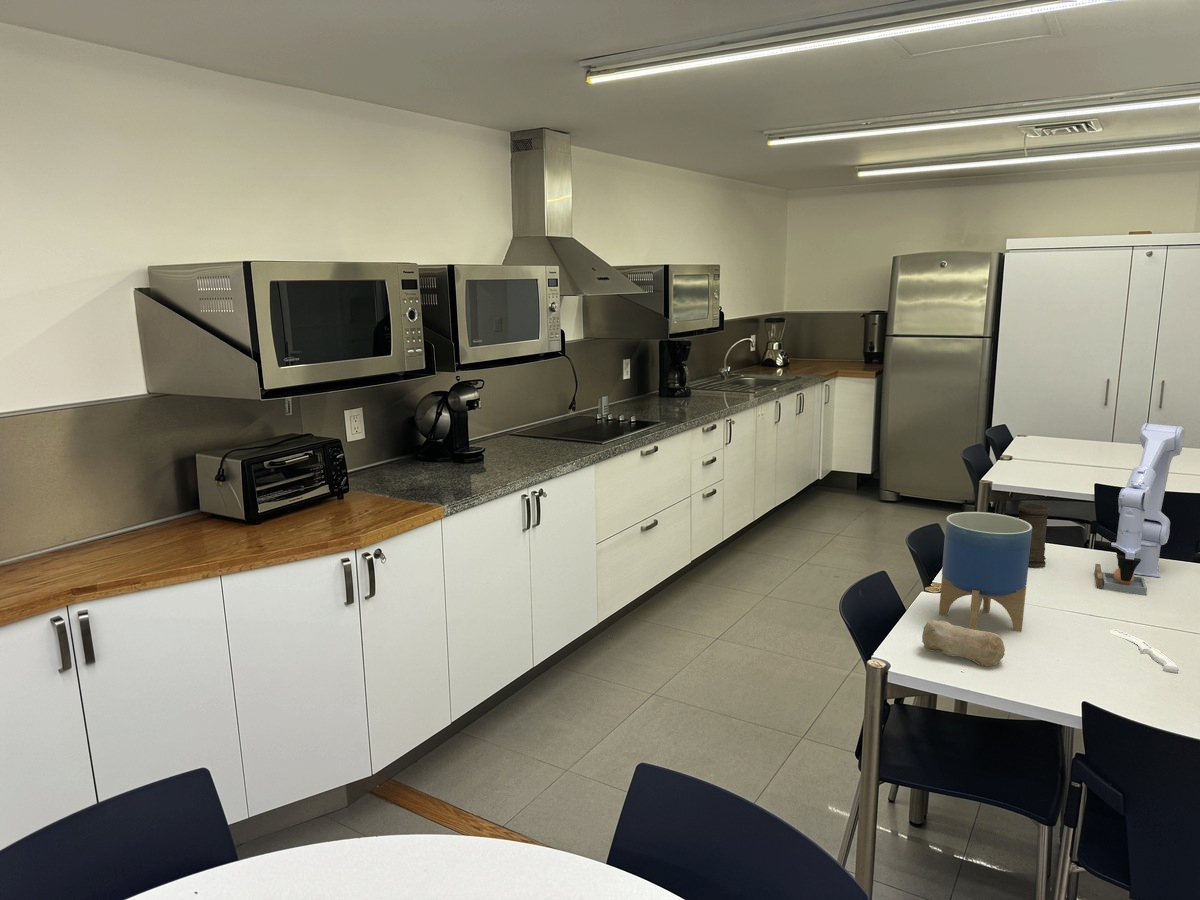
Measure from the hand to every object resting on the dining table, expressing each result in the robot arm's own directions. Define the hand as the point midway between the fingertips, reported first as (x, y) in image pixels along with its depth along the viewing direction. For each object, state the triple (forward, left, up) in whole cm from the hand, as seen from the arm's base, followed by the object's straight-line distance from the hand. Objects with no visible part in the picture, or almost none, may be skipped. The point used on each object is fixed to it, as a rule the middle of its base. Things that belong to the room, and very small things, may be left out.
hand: (1124, 576), depth 230 cm
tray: (0, 0, -3) cm, 3 cm away
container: (-10, -24, -3) cm, 26 cm away
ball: (0, 0, -2) cm, 2 cm away
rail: (-2, -6, -3) cm, 7 cm away
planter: (+46, -34, -3) cm, 57 cm away
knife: (+43, -2, -4) cm, 43 cm away
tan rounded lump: (+70, -36, -3) cm, 78 cm away
